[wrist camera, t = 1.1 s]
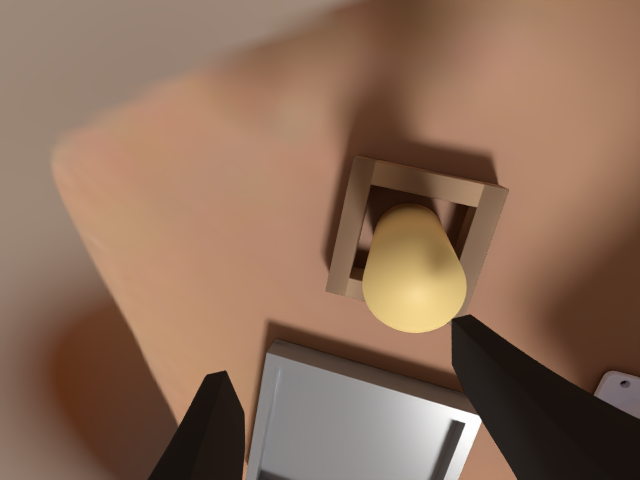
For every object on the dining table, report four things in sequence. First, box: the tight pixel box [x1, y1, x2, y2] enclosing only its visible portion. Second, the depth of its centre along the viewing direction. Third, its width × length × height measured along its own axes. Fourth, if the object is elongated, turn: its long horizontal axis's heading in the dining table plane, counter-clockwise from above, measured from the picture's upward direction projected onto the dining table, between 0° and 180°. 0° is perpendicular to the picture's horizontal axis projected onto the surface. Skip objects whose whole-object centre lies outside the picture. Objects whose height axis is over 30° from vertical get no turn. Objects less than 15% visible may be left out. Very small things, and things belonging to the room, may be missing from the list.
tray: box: [246, 338, 482, 480], centre depth 26 cm, size 14×13×2 cm
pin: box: [362, 203, 467, 333], centre depth 18 cm, size 4×4×8 cm
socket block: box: [326, 156, 509, 325], centre depth 21 cm, size 8×8×2 cm
